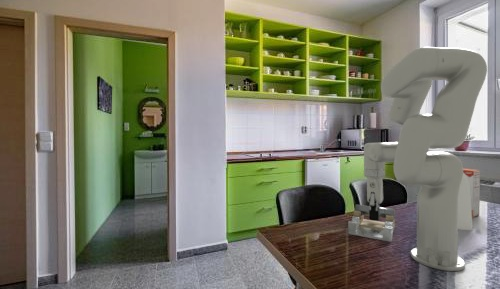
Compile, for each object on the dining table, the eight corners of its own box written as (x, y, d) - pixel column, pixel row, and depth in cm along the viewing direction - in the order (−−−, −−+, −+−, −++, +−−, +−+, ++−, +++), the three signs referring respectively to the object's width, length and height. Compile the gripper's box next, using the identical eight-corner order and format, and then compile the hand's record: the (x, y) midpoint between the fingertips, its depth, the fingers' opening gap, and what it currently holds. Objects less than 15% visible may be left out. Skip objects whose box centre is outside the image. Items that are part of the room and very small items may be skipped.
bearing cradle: (393, 232, 95) (393, 216, 95) (353, 225, 102) (353, 211, 102) (394, 226, 101) (394, 211, 101) (357, 220, 109) (357, 206, 109)
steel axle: (394, 220, 96) (394, 210, 96) (355, 215, 104) (355, 205, 104) (395, 218, 99) (394, 207, 99) (357, 212, 107) (356, 203, 107)
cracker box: (437, 209, 124) (438, 167, 123) (445, 208, 126) (445, 166, 126) (472, 217, 111) (473, 170, 110) (480, 215, 114) (480, 169, 113)
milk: (435, 227, 100) (436, 161, 99) (425, 218, 111) (425, 159, 110) (472, 230, 96) (473, 162, 96) (457, 220, 107) (458, 159, 106)
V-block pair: (391, 241, 86) (391, 228, 86) (348, 233, 94) (348, 221, 94) (392, 234, 93) (392, 222, 93) (352, 227, 101) (352, 216, 101)
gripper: (382, 176, 92) (383, 226, 92) (386, 171, 106) (387, 215, 106) (360, 175, 96) (361, 223, 97) (367, 170, 110) (367, 212, 111)
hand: (374, 218), depth 101 cm, fingers closed on steel axle, 4 cm apart
